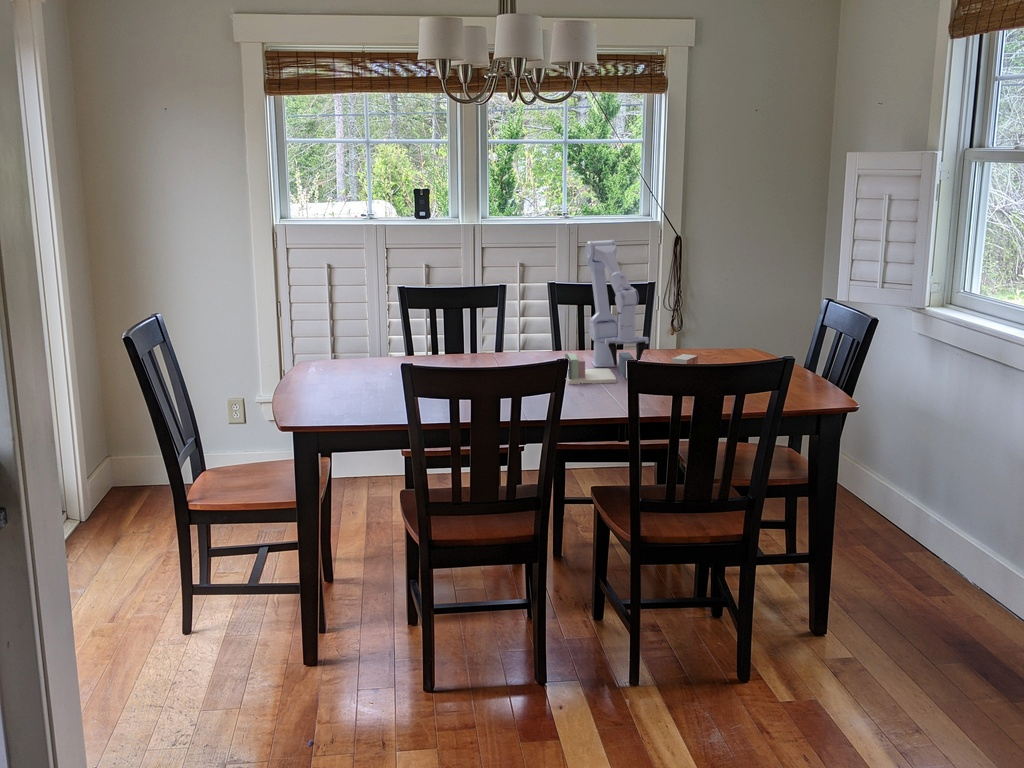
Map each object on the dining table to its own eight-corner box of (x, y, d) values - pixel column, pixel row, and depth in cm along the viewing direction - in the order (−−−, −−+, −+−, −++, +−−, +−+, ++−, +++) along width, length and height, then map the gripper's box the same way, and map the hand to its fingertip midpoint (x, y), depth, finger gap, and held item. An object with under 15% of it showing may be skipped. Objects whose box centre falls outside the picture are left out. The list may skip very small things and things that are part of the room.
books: (567, 371, 337) (567, 353, 335) (581, 371, 337) (581, 353, 335) (571, 378, 327) (570, 359, 326) (585, 378, 327) (585, 359, 326)
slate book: (618, 372, 340) (618, 352, 338) (628, 372, 340) (629, 352, 338) (623, 379, 330) (623, 358, 329) (634, 378, 330) (634, 358, 329)
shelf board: (563, 373, 340) (563, 369, 340) (609, 371, 341) (609, 368, 340) (568, 384, 324) (568, 380, 324) (616, 382, 325) (616, 379, 325)
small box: (686, 392, 311) (686, 359, 308) (670, 390, 314) (670, 357, 312) (697, 387, 317) (698, 355, 315) (682, 385, 320) (682, 353, 318)
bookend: (564, 371, 338) (564, 354, 336) (567, 371, 338) (567, 354, 336) (568, 379, 326) (568, 361, 325) (571, 379, 326) (571, 361, 325)
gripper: (607, 327, 327) (607, 367, 330) (650, 326, 328) (650, 366, 331) (603, 324, 334) (604, 363, 337) (646, 322, 334) (645, 362, 338)
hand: (626, 364), depth 334 cm, fingers open, 7 cm apart
